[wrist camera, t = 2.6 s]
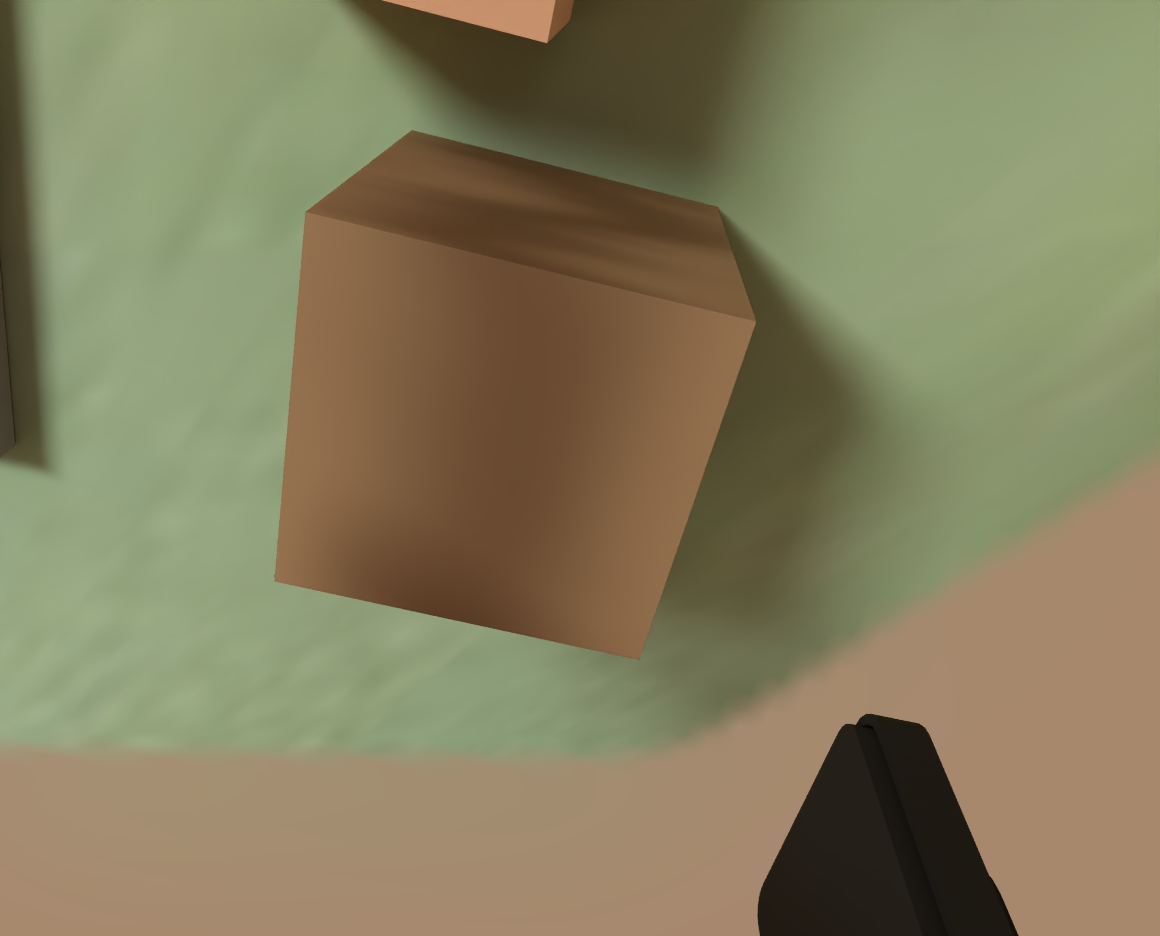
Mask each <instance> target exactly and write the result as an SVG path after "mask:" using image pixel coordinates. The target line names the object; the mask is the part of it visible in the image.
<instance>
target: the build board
mask: <svg viewBox="0 0 1160 936" xmlns="http://www.w3.org/2000/svg"><path fill="white" fill-rule="evenodd" d="M14 445H15V436H14V424H13V412H12V400H11V388H10V376H9V364H8V352H7V340H6V328H5V316H4V304H3V292H2V280H1V268H0V456H2V455H3V454H4V453H5V452H7V451H8V450H9V449H11V448H12V447H13V446H14Z"/></svg>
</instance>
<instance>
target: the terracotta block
mask: <svg viewBox="0 0 1160 936" xmlns="http://www.w3.org/2000/svg"><path fill="white" fill-rule="evenodd" d="M383 1H387V2H391V3H395V4H399V5H402V6H406V7H410V8H414V9H418V10H422V11H425V12H429V13H433V14H437V15H441V16H445V17H448V18H452V19H456V20H460V21H464V22H468V23H471V24H475V25H479V26H483V27H487V28H491V29H494V30H498V31H502V32H506V33H510V34H514V35H517V36H521V37H525V38H529V39H533V40H537V41H540V42H544V43H548V42H549V41H550V40H551V39H552V38H553V37H554V36H555V35H556V34H557V33H558V32H559V31H560V30H561V29H562V28H563V27H564V26H565V25H566V24H567V23H568V22H569V21H570V18H571V13H572V8H573V3H574V0H383Z"/></svg>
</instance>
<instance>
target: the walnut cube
mask: <svg viewBox="0 0 1160 936" xmlns="http://www.w3.org/2000/svg"><path fill="white" fill-rule="evenodd" d="M755 324H756V319H755V316H754V313H753V310H752V307H751V305H750V302H749V299H748V296H747V293H746V290H745V287H744V284H743V281H742V278H741V275H740V272H739V269H738V266H737V263H736V260H735V258H734V255H733V252H732V249H731V246H730V243H729V240H728V237H727V234H726V231H725V228H724V225H723V222H722V219H721V216H720V213H719V210H718V208H717V207H715V206H711V205H708V204H704V203H700V202H696V201H692V200H688V199H684V198H680V197H676V196H672V195H668V194H664V193H660V192H656V191H652V190H648V189H644V188H640V187H636V186H632V185H628V184H624V183H620V182H616V181H612V180H608V179H604V178H600V177H596V176H592V175H588V174H584V173H580V172H576V171H572V170H568V169H564V168H560V167H556V166H552V165H548V164H544V163H540V162H536V161H532V160H528V159H524V158H520V157H516V156H512V155H508V154H504V153H501V152H497V151H493V150H489V149H485V148H481V147H477V146H473V145H469V144H465V143H461V142H457V141H453V140H449V139H445V138H441V137H437V136H433V135H429V134H425V133H421V132H417V131H413V130H412V131H410V132H409V133H408V134H406V135H405V136H404V137H402V138H401V139H400V140H399V141H397V142H396V143H395V144H393V145H392V146H391V147H389V148H388V149H387V150H386V151H384V152H383V153H382V154H380V155H379V156H378V157H376V158H375V159H374V160H373V161H371V162H370V163H369V164H367V165H366V166H365V167H363V168H362V169H361V170H360V171H358V172H357V173H356V174H354V175H353V176H352V177H350V178H349V179H348V180H346V181H345V182H344V183H343V184H341V185H340V186H339V187H337V188H336V189H335V190H333V191H332V192H331V193H330V194H328V195H327V196H326V197H324V198H323V199H322V200H320V201H319V202H318V203H317V204H315V205H314V206H313V207H311V208H310V209H309V210H307V211H306V212H305V224H304V236H303V248H302V259H301V271H300V283H299V295H298V307H297V319H296V331H295V343H294V355H293V367H292V379H291V391H290V403H289V415H288V427H287V438H286V450H285V462H284V474H283V486H282V498H281V510H280V522H279V534H278V546H277V558H276V570H275V582H280V583H285V584H289V585H294V586H299V587H303V588H308V589H312V590H317V591H322V592H326V593H331V594H336V595H340V596H345V597H350V598H354V599H359V600H363V601H368V602H373V603H377V604H382V605H387V606H391V607H396V608H401V609H405V610H410V611H415V612H419V613H424V614H428V615H433V616H438V617H442V618H447V619H452V620H456V621H461V622H466V623H470V624H475V625H479V626H484V627H489V628H493V629H498V630H503V631H507V632H512V633H517V634H521V635H526V636H530V637H535V638H540V639H544V640H549V641H554V642H558V643H563V644H568V645H572V646H577V647H581V648H586V649H591V650H595V651H600V652H605V653H609V654H614V655H619V656H623V657H628V658H632V659H637V660H639V659H640V656H641V653H642V650H643V647H644V644H645V641H646V638H647V636H648V633H649V630H650V627H651V624H652V621H653V618H654V615H655V613H656V610H657V607H658V604H659V601H660V598H661V595H662V592H663V589H664V587H665V584H666V581H667V578H668V575H669V572H670V569H671V566H672V564H673V561H674V558H675V555H676V552H677V549H678V546H679V543H680V540H681V538H682V535H683V532H684V529H685V526H686V523H687V520H688V517H689V514H690V512H691V509H692V506H693V503H694V500H695V497H696V494H697V491H698V489H699V486H700V483H701V480H702V477H703V474H704V471H705V468H706V465H707V463H708V460H709V457H710V454H711V451H712V448H713V445H714V442H715V440H716V437H717V434H718V431H719V428H720V425H721V422H722V419H723V416H724V414H725V411H726V408H727V405H728V402H729V399H730V396H731V393H732V391H733V388H734V385H735V382H736V379H737V376H738V373H739V370H740V367H741V365H742V362H743V359H744V356H745V353H746V350H747V347H748V344H749V341H750V339H751V336H752V333H753V330H754V327H755Z"/></svg>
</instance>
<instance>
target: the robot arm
mask: <svg viewBox="0 0 1160 936" xmlns="http://www.w3.org/2000/svg"><path fill="white" fill-rule="evenodd" d="M758 926H759V932H760V936H1018V934H1017V931H1016V929H1015V926H1014V924H1013V922H1012V920H1011V917H1010V915H1009V913H1008V910H1007V908H1006V905H1005V903H1004V901H1003V898H1002V896H1001V894H1000V892H999V890H998V888H997V887H996V885H995V883H994V881H993V880H992V878H991V877H990V876H989V874H988V872H987V870H986V867H985V865H984V863H983V860H982V858H981V856H980V853H979V851H978V848H977V846H976V844H975V841H974V839H973V837H972V834H971V832H970V830H969V828H968V825H967V822H966V820H965V818H964V815H963V813H962V811H961V808H960V806H959V804H958V801H957V799H956V797H955V794H954V792H953V789H952V787H951V785H950V782H949V780H948V778H947V775H946V773H945V771H944V768H943V766H942V763H941V761H940V759H939V756H938V754H937V752H936V749H935V747H934V744H933V742H932V740H931V737H930V735H929V733H928V732H927V730H926V729H925V728H924V727H923V726H922V725H920V724H918V723H913V722H909V721H903V720H899V719H894V718H889V717H883V716H879V715H874V714H865V715H864V716H862V717H861V718H860V719H859V721H858V722H857V724H856V725H853V724H845V725H844V726H843V727H842V728H841V729H840V731H839V732H838V734H837V736H836V739H835V740H834V743H833V744H832V746H831V748H830V751H829V752H828V754H827V756H826V758H825V760H824V762H823V765H822V767H821V769H820V771H819V773H818V775H817V777H816V779H815V781H814V783H813V785H812V787H811V789H810V791H809V793H808V795H807V797H806V799H805V801H804V803H803V805H802V807H801V809H800V811H799V813H798V815H797V817H796V819H795V821H794V823H793V825H792V827H791V829H790V831H789V833H788V835H787V837H786V839H785V841H784V843H783V845H782V847H781V849H780V851H779V853H778V855H777V857H776V859H775V862H774V863H773V865H772V867H771V870H770V871H769V874H768V875H767V878H766V879H765V881H764V883H763V886H762V888H761V892H760V896H759V902H758Z"/></svg>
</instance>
